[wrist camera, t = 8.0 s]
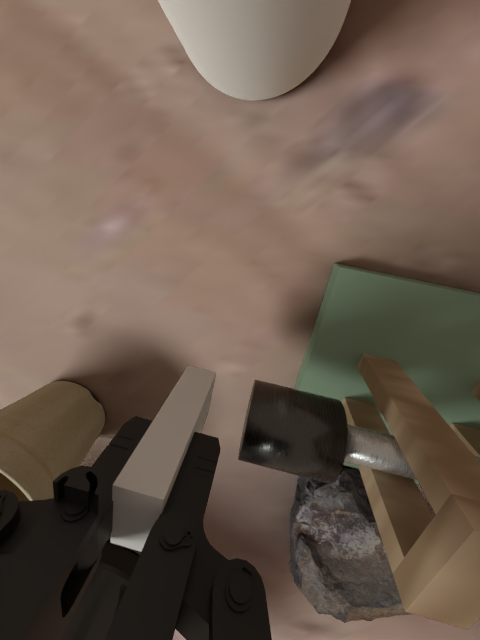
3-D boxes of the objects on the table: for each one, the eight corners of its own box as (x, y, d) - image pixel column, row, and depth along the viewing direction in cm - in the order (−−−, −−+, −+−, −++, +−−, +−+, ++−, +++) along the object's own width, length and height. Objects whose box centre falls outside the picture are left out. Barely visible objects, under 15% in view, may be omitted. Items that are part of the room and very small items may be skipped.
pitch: (279, 433, 21) (279, 448, 20) (334, 262, 16) (339, 266, 15) (564, 505, 20) (585, 527, 18) (726, 344, 15) (773, 357, 13)
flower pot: (100, 356, 21) (-10, 439, 13) (139, 446, 24) (69, 558, 16) (8, 368, 23) (-137, 448, 15) (54, 450, 26) (-45, 553, 18)
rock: (433, 547, 24) (474, 634, 19) (325, 577, 27) (335, 656, 22) (343, 442, 21) (363, 511, 16) (236, 491, 25) (226, 560, 20)
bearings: (339, 408, 18) (404, 611, 9) (362, 353, 16) (474, 530, 7) (475, 441, 17) (701, 697, 8) (513, 387, 16) (853, 629, 6)
